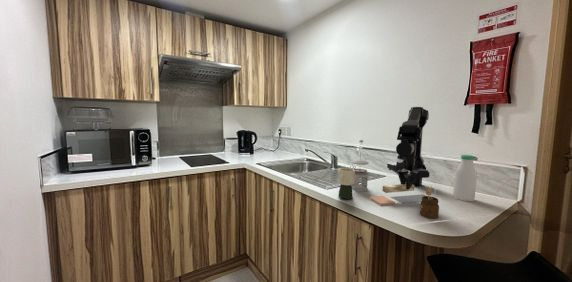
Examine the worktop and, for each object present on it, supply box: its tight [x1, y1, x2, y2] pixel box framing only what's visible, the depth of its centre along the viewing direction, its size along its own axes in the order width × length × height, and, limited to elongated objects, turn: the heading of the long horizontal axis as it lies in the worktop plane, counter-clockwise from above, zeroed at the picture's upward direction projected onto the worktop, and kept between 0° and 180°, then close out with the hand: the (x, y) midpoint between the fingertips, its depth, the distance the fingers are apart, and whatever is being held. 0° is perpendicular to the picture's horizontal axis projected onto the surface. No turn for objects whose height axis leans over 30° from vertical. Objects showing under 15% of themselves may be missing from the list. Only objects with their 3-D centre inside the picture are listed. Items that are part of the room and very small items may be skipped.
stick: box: [382, 183, 415, 194], centre depth 100 cm, size 14×2×2 cm, turn 103°
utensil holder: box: [419, 185, 440, 220], centre depth 84 cm, size 6×6×12 cm
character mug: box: [337, 167, 355, 200], centre depth 103 cm, size 11×7×13 cm, turn 141°
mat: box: [390, 194, 427, 204], centre depth 102 cm, size 18×8×1 cm, turn 103°
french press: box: [349, 139, 369, 192], centre depth 114 cm, size 10×12×25 cm
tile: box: [368, 195, 396, 207], centre depth 99 cm, size 2×8×7 cm
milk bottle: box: [452, 154, 478, 203], centre depth 103 cm, size 8×8×20 cm
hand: (405, 188), depth 101 cm, fingers closed on stick, 2 cm apart
